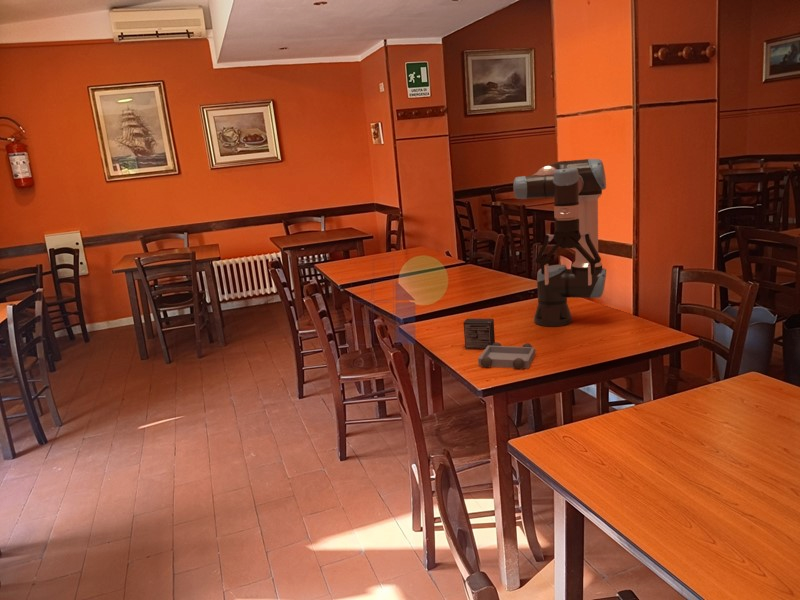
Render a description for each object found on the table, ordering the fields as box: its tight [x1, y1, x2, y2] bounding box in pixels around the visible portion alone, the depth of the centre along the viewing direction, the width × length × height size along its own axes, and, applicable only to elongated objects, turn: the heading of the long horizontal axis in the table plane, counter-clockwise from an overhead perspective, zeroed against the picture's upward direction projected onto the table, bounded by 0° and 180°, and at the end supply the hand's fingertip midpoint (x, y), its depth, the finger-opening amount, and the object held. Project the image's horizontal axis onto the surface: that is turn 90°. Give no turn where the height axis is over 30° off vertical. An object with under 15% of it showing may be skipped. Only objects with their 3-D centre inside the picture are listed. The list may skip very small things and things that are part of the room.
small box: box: [463, 318, 496, 350], centre depth 225 cm, size 11×6×10 cm, turn 71°
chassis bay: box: [477, 341, 536, 371], centre depth 209 cm, size 17×17×4 cm
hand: (568, 284), depth 194 cm, fingers open, 13 cm apart
